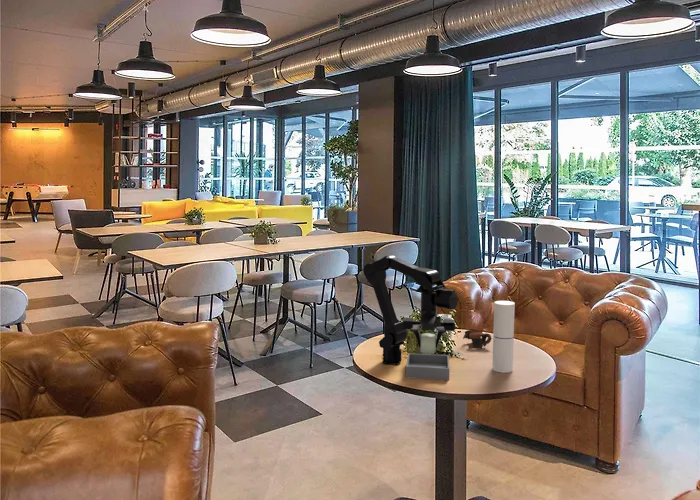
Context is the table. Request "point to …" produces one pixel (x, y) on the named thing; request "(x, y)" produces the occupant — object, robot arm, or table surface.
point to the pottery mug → (477, 338)
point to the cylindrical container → (503, 336)
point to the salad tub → (428, 343)
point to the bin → (427, 366)
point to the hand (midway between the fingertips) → (428, 347)
